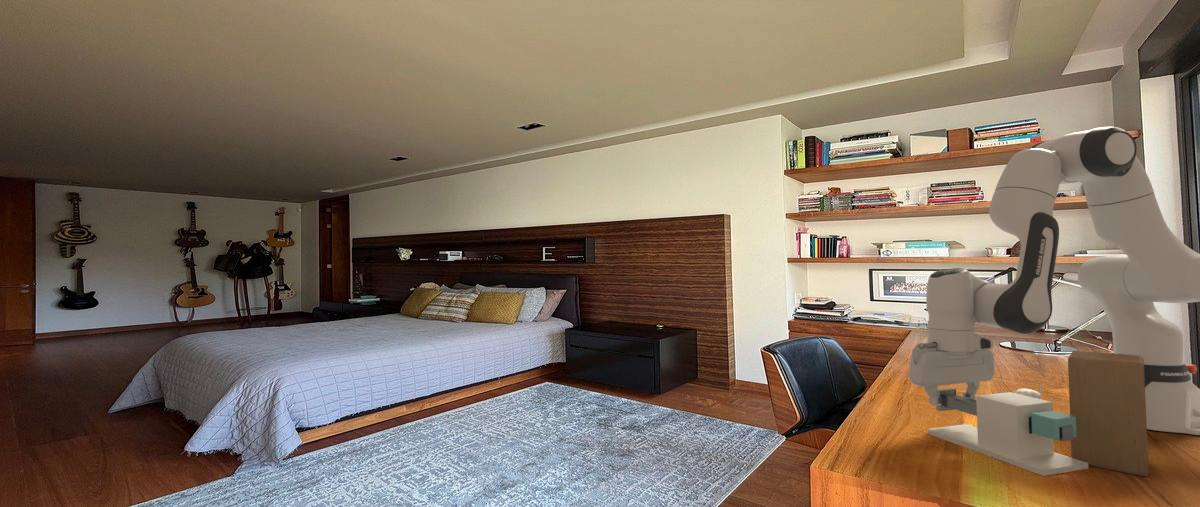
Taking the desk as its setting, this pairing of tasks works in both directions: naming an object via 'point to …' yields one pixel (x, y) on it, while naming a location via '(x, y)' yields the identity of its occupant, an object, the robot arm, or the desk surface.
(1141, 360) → the wooden block
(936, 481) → the desk surface
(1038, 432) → the block
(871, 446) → the desk surface
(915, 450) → the desk surface
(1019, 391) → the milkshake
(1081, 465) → the bearing block
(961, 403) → the shaft
